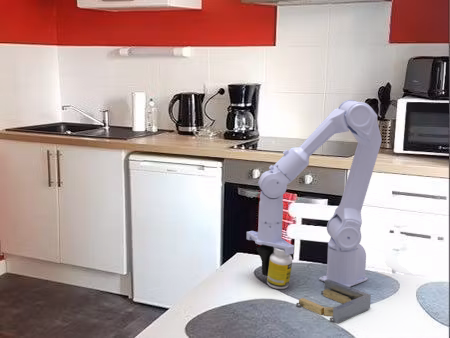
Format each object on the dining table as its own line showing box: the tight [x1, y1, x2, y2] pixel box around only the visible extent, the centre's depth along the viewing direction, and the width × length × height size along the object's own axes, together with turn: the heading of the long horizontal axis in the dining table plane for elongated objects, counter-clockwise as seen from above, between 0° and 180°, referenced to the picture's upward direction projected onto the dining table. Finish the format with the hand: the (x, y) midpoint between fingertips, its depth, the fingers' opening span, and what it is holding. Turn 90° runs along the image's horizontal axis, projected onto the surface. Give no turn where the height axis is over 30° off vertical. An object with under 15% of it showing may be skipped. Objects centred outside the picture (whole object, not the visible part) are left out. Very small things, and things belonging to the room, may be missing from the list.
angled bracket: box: [295, 279, 372, 324], centre depth 126 cm, size 12×12×3 cm
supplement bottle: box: [266, 247, 293, 290], centre depth 136 cm, size 5×5×10 cm
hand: (267, 274), depth 139 cm, fingers closed, pressing on supplement bottle
